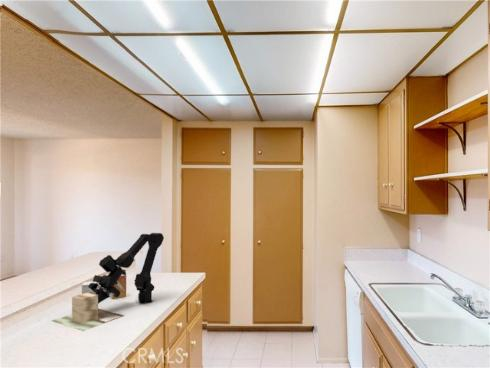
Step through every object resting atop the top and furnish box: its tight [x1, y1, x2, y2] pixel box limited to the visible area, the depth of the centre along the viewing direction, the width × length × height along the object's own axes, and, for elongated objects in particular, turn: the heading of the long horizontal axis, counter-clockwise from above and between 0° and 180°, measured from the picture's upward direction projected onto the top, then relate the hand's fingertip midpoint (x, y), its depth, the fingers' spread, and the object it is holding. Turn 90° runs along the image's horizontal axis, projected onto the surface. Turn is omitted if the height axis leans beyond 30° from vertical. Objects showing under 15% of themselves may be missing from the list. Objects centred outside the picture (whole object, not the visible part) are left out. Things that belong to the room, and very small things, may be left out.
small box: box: [109, 274, 127, 300], centre depth 204 cm, size 8×6×13 cm
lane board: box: [51, 308, 126, 332], centre depth 164 cm, size 22×25×2 cm
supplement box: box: [81, 281, 99, 294], centre depth 187 cm, size 7×7×13 cm
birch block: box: [71, 293, 99, 324], centre depth 162 cm, size 8×8×11 cm
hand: (93, 305), depth 166 cm, fingers closed
